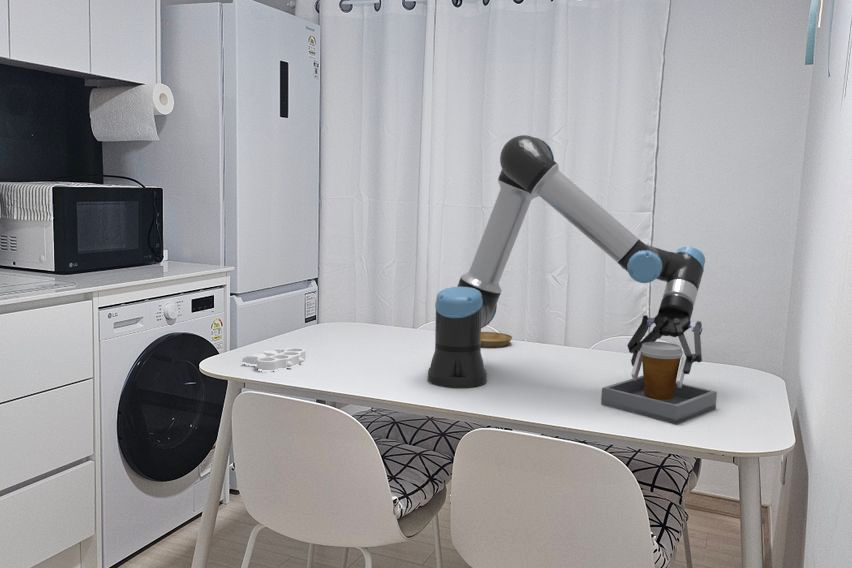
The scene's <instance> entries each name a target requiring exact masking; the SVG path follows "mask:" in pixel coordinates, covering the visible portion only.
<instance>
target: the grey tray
mask: <svg viewBox="0 0 852 568" xmlns="http://www.w3.org/2000/svg"><path fill="white" fill-rule="evenodd" d="M717 393H718V391H716V390H711V389H707V388H701V387H698V386H692V385H689V384H685V383H682V387H681V388H679V387H678V386H677V382H676V384H675V390H674V395H673V398H672V399H670V400H656V399H651V398H648V397H646V396H645V393H644V378H643V375H640V376H639V375H638V378H637V381H634V380H633V378H630V379H627V380H623V381H621V382H616V383H613V384H611V385H607V386H604V387H601V397H600V401H601V402H600V405H602V406H605V407H609V408H613V409H617V410H619V411H620V410H621V411H624V412H628V413H631V414H635V415H639V416H643V417H646V418H647V417H648V418H650V419H654V420H659V421H661V422H667V423H670V424H673V425H678V424H681V423H684V422H686V421H688V420H690V419H693V418H696V417H697V416H700V415H703V414H705V413H707V412H708V413H709V412H710V411H713V410H715V409H717Z"/></svg>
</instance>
